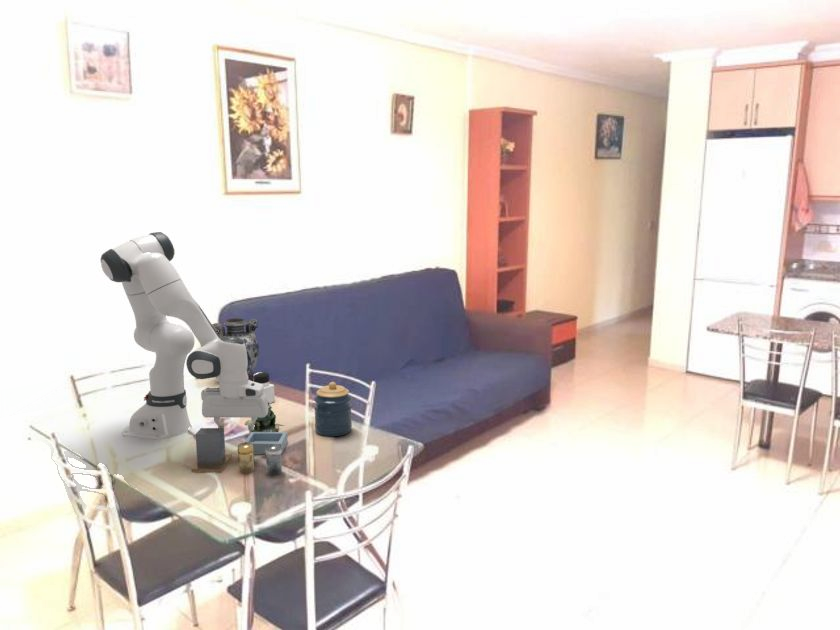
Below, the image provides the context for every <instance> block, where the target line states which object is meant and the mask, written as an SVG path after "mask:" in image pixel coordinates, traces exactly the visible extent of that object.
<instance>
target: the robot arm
mask: <svg viewBox="0 0 840 630" xmlns="http://www.w3.org/2000/svg"><path fill="white" fill-rule="evenodd" d="M174 256H175V248H174V244H173V242H172V241H171V239H170V238H169V236H167V235H166V234H165V233H163V232H161V231H158V232H151V233H149V234H146V235H142V236H138V237H136V238H133V239H130V240H129V241H127V242H124V243H122V244H120V245H117V246H116V247H114V248H110V249H108V250H106V251H105V252H104V253H102V254H101V257H100V264H101V265H100V266H101V269H102V271H103V274H104V275H105V276H106V277H107V278H108V279H109V280H110V281H112V282H114V283H121V284H122V285H121V286H122V287H123V289H124V292H125V294H126V297H127V299H128V302H129V304H130V307H131V309H132V312H133V314H134V320H135V326H136V327H135V329H134V332H133V339H134V341H135V343H136V345H138V346H140V347H141V348H142V349H144V350H146V351H147V352H148V351H149V352H152V353H155V363H154V365H153V367H151V369H150V370H149V373H148V377H149V386H150V387H149V389H150V390H149V391H148V393H147V394H145V396H144V397H143V402H144V401H145V402H146V403H144V404H143V405H142V406H141V407H139V408H138V409H137V410H136V411H135V412H133V414H132V415H131V417H130V419H129V425H128V426H127V427H126V428H125V429H123V432H122V436H123V437H125V438H127V437H128V438H137V439H138V438H139V439H148V440H157V441H158V440H165V439H167V438H170V437H174V436H179V435H183V434H185V433H187V432H189V431H188V428H189V427H190V426H192V425H191V424H192V423H191V421H190V419H189V415H188V410H187V405H188V404H187V403H188V401H187V400H188V398H187V390H186V389H185V378H184V377H185V374H184V370H185V369H184V368H185V365H186V368H187V371H188V372H189V374H190V375H191V376H192V377H194V378H195V379H197V380H198V379H199V380H206V379H211V378H218V385H219V386H218V387H205V389H203V390H202V391H201V393H200V398H201V400H202V404H201V415H202V416H203V417H204V418H213V420H214V422H215V424H216V425H217V428H224V429H225V423H222V422H221V420H220V419H221V418H240V419H241V418H250V420H252V421H253V422H252V424H249V425H247V428H249V429H247V430H248V432H249V431H253V430H254V423H255V422H256V420H257V418H263V417H265V416H266V415H267V414H268V401H267V397H266V395H265V393H263V390H264V385H263V384H260V383H257V382H254V381H252V380H251V379H250V380H248V378H249V376H248V374H247V366H248V360H247V351H246V346H245V343H244V341H243V340H242V339H240V338H238V337H233V336H224V337H220V336H219V334H218V333H217V332H216V330H215V329H214V327H213V326H212V322H211V321H210V320H209V317H208V316H207V315H206V314H205V312H204V310H203V309H202V308H201V306H200V305H199V304H198V303H197V301H196V300H195V299H194V297H193V296H192V294H191V293H190V292H189V290H188V288H187V287H186V285H185V283H184V282H183V280H182V278H181V277H180V274H179V273H178V271H177V269H176V268H175V266H174V265H173V264H172V263H171V261H172V260H173V259H174ZM167 317H171V318H175V319H178V320H181V321H183V322H184V323H185V325H187V326H188V328H189V329H190V330H189V329H187V328H186V327H185V326H183V325H180V324H175V323H171V322H169V320H168V319H167ZM195 338H196V339H195ZM195 340H197V341H198V343H199V344H200V347H198V348H196V349H195V350H194V351H192V350H193V348H194V346H195V342H196V341H195ZM185 363H186V364H185Z"/></svg>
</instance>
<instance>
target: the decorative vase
mask: <svg viewBox="0 0 840 630" xmlns="http://www.w3.org/2000/svg"><path fill="white" fill-rule="evenodd" d="M211 324H212V323H211ZM258 324H259V321H258V320H257V319H255V318H253V319H250V320H249V321H246V320H245V319H243V318H229V319H228V318H227V319H226V320H225V322H224V323H223V325H222V324H221V323H219V322H214V323H213V324H212V326H213V327H214V329H215V330H216V332H217V333H218V334H219V336H220V337H224V336H233V337H238V338H240V339H242V340H243V341H244V343H245V346H246V351H247V360H248V366H247V374H248V380H250V381H251V378H249V376H250V375H251V374H252V372H254V369H256V365H257V362H258V359H259V353H260V352H259V348H260V347H259V346H260V345H259V343H258V341H257V336H256V332H255V331H256V329H258V328H259V326H258ZM224 326H225V327H226V328H227V329H225V327H224Z"/></svg>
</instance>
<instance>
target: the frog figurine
mask: <svg viewBox="0 0 840 630" xmlns="http://www.w3.org/2000/svg"><path fill="white" fill-rule="evenodd" d="M272 409H273V407H272V406H271V405H270V404H269V402H268V414H267V415H266V416H265V417H263V418H257V420H256V422H255V423H254V425H255V426H254V430H253V431H249V430H248V429H249V428H248V425H249V424H252V422H253V421H252V420H251V419H248V420H246V421H245V422H244V425H245V426H247V428H248V429H247V430H248V432H249V433H250V432H279V428H280V427H284V426H285V424H284V425H283V424H280V423H276V421H277V420H276V418H277V416H276V414H275V412H274V410H272Z"/></svg>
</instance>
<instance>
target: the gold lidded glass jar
mask: <svg viewBox="0 0 840 630" xmlns="http://www.w3.org/2000/svg"><path fill="white" fill-rule="evenodd" d="M244 442H245V441H244ZM244 442H241V443H239V444H237V456H238V472H239V473H241V474H251V473H253V472H255V459H254V458H255V454H254V453H253V452H254V447H253V444H252V443H249V442H245V443H244Z"/></svg>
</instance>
